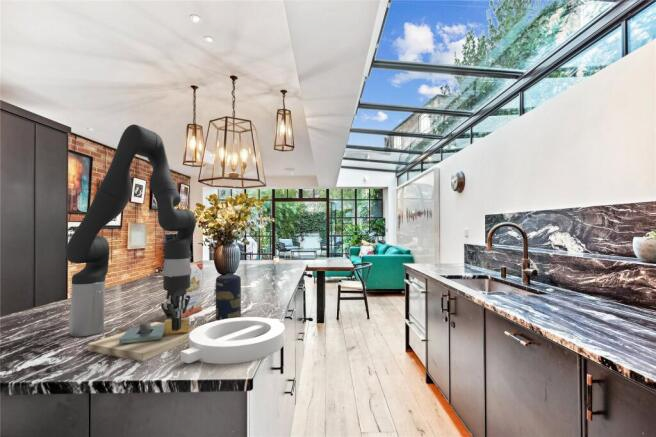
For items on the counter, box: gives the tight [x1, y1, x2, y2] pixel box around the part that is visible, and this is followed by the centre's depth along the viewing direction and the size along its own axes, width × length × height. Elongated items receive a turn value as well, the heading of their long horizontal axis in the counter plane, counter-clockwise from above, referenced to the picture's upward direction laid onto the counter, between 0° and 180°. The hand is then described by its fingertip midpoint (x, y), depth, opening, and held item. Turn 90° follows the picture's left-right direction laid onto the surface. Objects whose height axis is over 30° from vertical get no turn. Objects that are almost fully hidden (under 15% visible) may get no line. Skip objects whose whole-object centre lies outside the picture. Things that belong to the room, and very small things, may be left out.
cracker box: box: [181, 262, 204, 318], centre depth 130 cm, size 14×6×21 cm, turn 168°
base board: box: [87, 318, 198, 362], centre depth 97 cm, size 22×23×6 cm
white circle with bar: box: [180, 316, 286, 365], centre depth 95 cm, size 28×28×5 cm
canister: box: [215, 273, 242, 321], centre depth 122 cm, size 10×10×18 cm
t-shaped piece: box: [119, 316, 190, 344], centre depth 97 cm, size 18×11×4 cm, turn 110°
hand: (176, 330), depth 95 cm, fingers closed
